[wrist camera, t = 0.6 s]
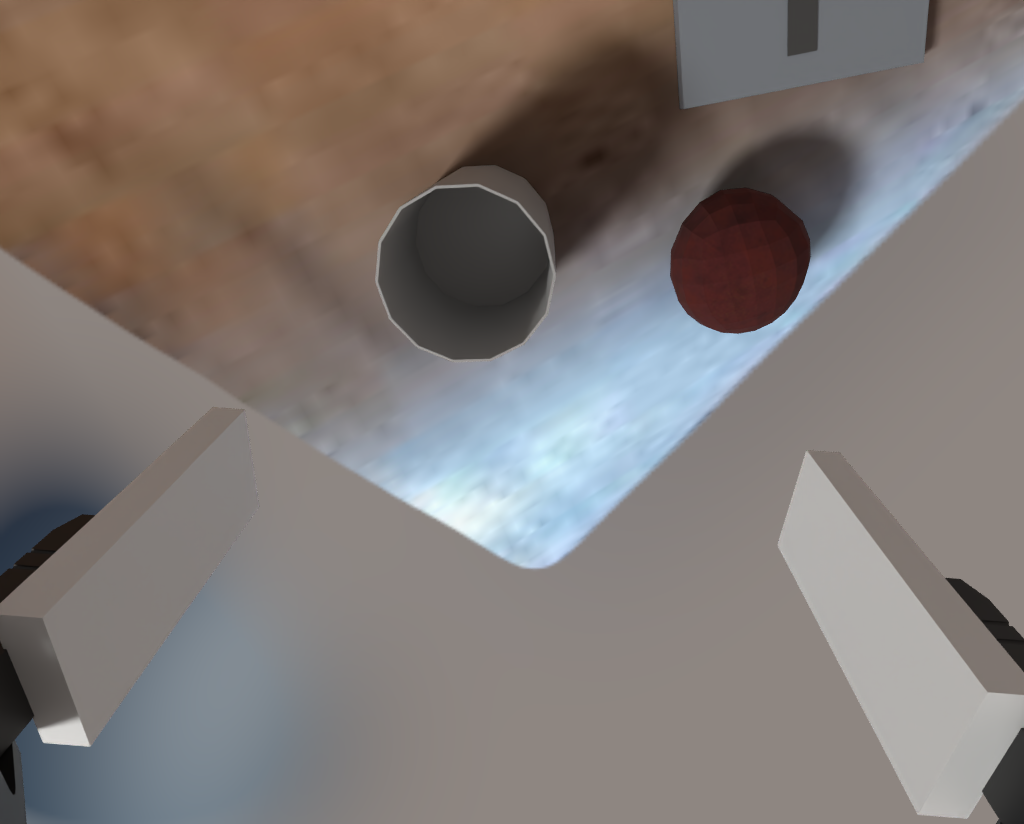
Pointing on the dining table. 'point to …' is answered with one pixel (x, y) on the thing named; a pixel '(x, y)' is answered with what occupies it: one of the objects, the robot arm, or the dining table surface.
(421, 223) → the cup
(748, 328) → the potato
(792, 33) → the console
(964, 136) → the dining table surface
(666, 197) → the dining table surface
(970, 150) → the dining table surface
